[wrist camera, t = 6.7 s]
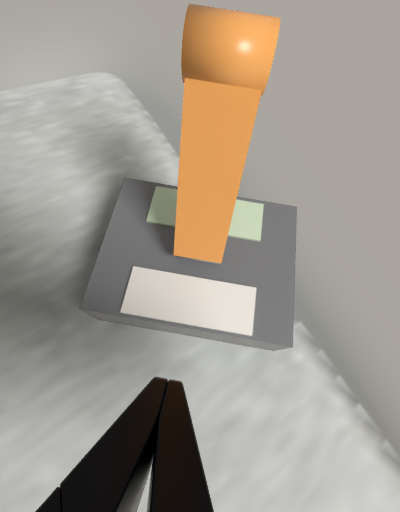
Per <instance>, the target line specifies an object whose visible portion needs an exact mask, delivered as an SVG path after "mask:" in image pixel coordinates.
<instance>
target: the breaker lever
mask: <svg viewBox="0 0 400 512" xmlns="http://www.w3.org/2000/svg"><path fill="white" fill-rule="evenodd" d="M279 27H280V18H278V17H272V16H265V15H259V14H252V13H246V12H239V11H233V10H226V9H219V8H214V7H207V6H201V5H194V4H189V6H188V8H187V12H186V17H185V23H184V30H183V40H182V60H181V61H182V62H181V63H182V64H181V66H182V79H183V83H184V97H183V98H184V99H183V113H182V130H181V145H180V160H179V176H178V192H177V208H176V223H175V239H174V257H180V258H185V259H191V260H197V261H203V262H208V263H214V264H220V265H221V263H222V258H223V254H224V250H225V246H226V241H227V237H228V233H229V229H230V224H231V220H232V216H233V212H234V207H235V203H236V199H237V194H238V190H239V186H240V182H241V177H242V173H243V169H244V165H245V160H246V156H247V152H248V147H249V143H250V139H251V134H252V130H253V126H254V122H255V118H256V113H257V109H258V105H259V101H260V96H262V95H263V93H264V91H265V88H266V84H267V81H268V78H269V74H270V70H271V66H272V62H273V58H274V53H275V49H276V44H277V39H278V33H279Z"/></svg>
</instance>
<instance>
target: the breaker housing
mask: <svg viewBox="0 0 400 512" xmlns="http://www.w3.org/2000/svg"><path fill="white" fill-rule="evenodd" d="M177 192H178V187H176V186H170V185H164V184H159V183H153V182H147V181H141V180H135V179H129V178H125V179H124V182H123V185H122V187H121V190H120V193H119V196H118V199H117V202H116V205H115V208H114V211H113V213H112V216H111V219H110V222H109V225H108V228H107V231H106V234H105V237H104V239H103V242H102V245H101V248H100V251H99V254H98V257H97V260H96V263H95V265H94V268H93V271H92V274H91V277H90V280H89V283H88V286H87V289H86V291H85V294H84V297H83V300H82V303H81V306H80V309H81V310H82V311H84V312H86V313H88V314H89V315H91V316H93V317H95V318H97V319H99V320H105V321H110V322H116V323H122V324H127V325H133V326H138V327H144V328H149V329H155V330H161V331H166V332H172V333H177V334H183V335H188V336H194V337H200V338H205V339H211V340H216V341H222V342H227V343H233V344H239V345H244V346H250V347H255V348H261V349H266V350H272V351H276V350H281V349H286V348H291V347H293V322H294V287H295V252H296V216H297V207H295V206H289V205H283V204H277V203H271V202H265V201H259V200H253V199H247V198H241V197H237V199H236V203H235V207H234V212H233V216H232V220H231V224H230V229H229V233H228V237H227V241H226V246H225V250H224V254H223V258H222V263H221V265H220V264H214V263H208V262H203V261H197V260H191V259H185V258H180V257H174V239H175V223H176V208H177Z"/></svg>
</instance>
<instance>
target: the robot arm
mask: <svg viewBox="0 0 400 512" xmlns="http://www.w3.org/2000/svg"><path fill="white" fill-rule="evenodd" d="M152 460H153V462H152ZM151 465H152V470H151V478H150V487H149V496H148V505H147V512H214V510H213V506H212V502H211V498H210V494H209V490H208V486H207V482H206V477H205V473H204V469H203V465H202V461H201V457H200V453H199V449H198V444H197V440H196V436H195V432H194V428H193V424H192V420H191V416H190V411H189V407H188V403H187V399H186V395H185V391H184V387H183V383H182V382H181V381H176V380H169V381H168V380H167V379H165V378H160V377H154V378H153V379H152V380H151V381H150V382H149V384H148V385H147V386H146V387H145V388H144V389H143V390H142V392H141V393H140V394H139V395H138V396H137V397H136V398H135V400H134V401H133V402H132V403H131V404H130V405H129V406H128V407H127V409H126V410H125V411H124V412H123V413H122V414H121V415H120V417H119V418H118V419H117V420H116V421H115V422H114V423H113V425H112V426H111V427H110V428H109V429H108V430H107V431H106V432H105V434H104V435H103V436H102V437H101V438H100V439H99V440H98V442H97V443H96V444H95V445H94V446H93V447H92V448H91V450H90V451H89V452H88V453H87V454H86V455H85V456H84V457H83V459H82V460H81V461H80V462H79V463H78V464H77V465H76V467H75V468H74V469H73V470H72V471H71V472H70V473H69V475H68V476H67V477H66V478H65V479H64V480H63V481H62V483H61V484H60V487H57V488H56V489H55V490H54V491H53V493H52V494H51V495H50V496H49V497H48V498H47V499H46V500H45V502H44V503H43V504H42V505H41V506H40V507H39V508H38V509H37V510H36V512H137V509H138V506H139V503H140V500H141V497H142V493H143V490H144V487H145V484H146V481H147V478H148V475H149V471H150V468H151Z"/></svg>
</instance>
